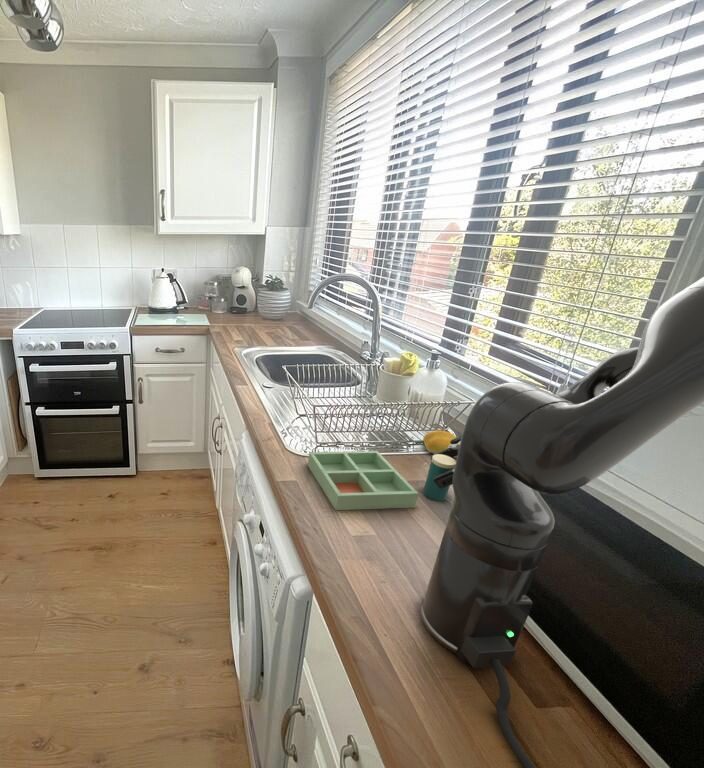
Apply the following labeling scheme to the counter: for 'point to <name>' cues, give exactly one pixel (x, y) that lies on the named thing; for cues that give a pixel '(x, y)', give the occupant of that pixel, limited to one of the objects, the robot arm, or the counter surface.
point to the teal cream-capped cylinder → (437, 467)
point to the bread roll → (438, 441)
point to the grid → (361, 480)
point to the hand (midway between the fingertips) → (434, 472)
